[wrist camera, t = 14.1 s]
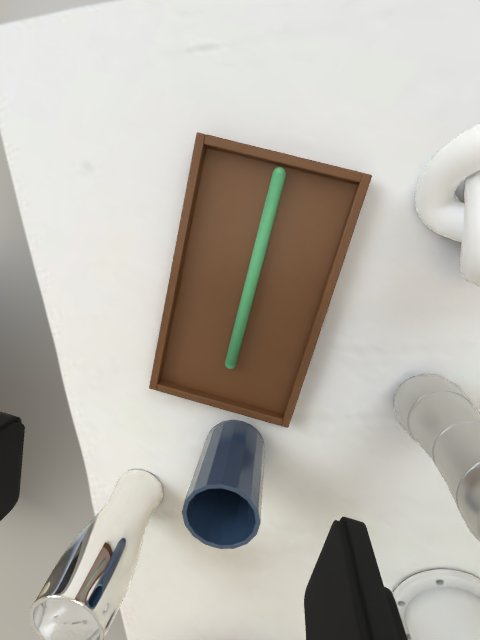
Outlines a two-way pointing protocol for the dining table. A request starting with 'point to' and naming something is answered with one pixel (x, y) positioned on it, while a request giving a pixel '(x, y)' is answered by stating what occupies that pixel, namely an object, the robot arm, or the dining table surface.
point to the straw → (255, 265)
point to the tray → (273, 284)
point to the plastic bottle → (445, 436)
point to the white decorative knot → (454, 198)
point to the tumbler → (227, 487)
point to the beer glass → (98, 565)
